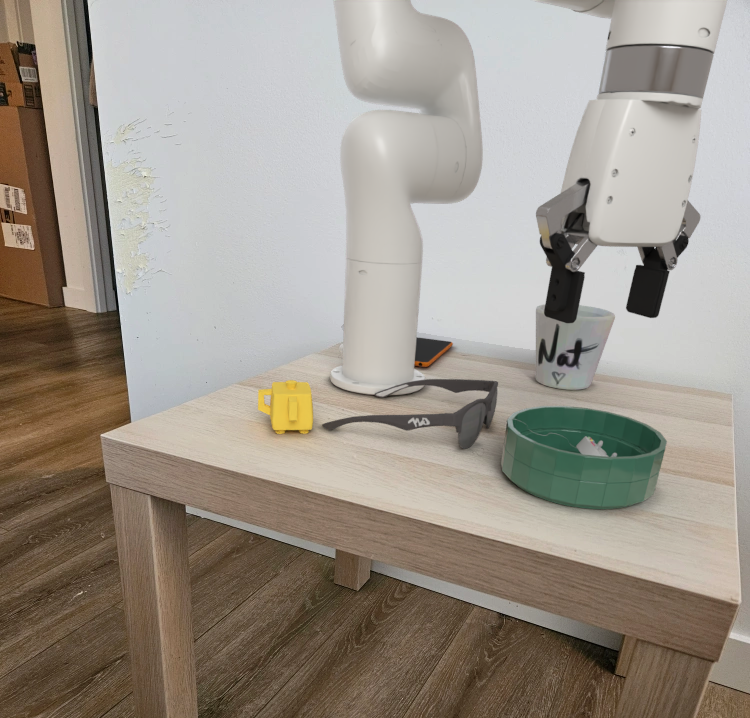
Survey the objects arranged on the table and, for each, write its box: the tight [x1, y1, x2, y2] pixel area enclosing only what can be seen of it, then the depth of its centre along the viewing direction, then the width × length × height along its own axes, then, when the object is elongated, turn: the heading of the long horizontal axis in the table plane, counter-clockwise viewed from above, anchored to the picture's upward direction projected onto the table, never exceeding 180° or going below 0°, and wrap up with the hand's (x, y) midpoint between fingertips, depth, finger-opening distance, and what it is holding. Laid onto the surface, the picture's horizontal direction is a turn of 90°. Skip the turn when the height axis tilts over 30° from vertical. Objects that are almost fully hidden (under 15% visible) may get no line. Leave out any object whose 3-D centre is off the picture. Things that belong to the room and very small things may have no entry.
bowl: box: [500, 405, 668, 510], centre depth 63 cm, size 14×14×5 cm
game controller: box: [506, 417, 617, 457], centre depth 60 cm, size 6×12×3 cm, turn 102°
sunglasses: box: [321, 378, 499, 450], centre depth 75 cm, size 16×17×5 cm
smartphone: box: [414, 336, 454, 368], centre depth 106 cm, size 8×17×1 cm, turn 161°
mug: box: [535, 304, 616, 391], centre depth 95 cm, size 10×15×10 cm
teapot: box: [257, 379, 314, 435], centre depth 71 cm, size 8×6×5 cm
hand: (601, 317), depth 58 cm, fingers open, 9 cm apart
